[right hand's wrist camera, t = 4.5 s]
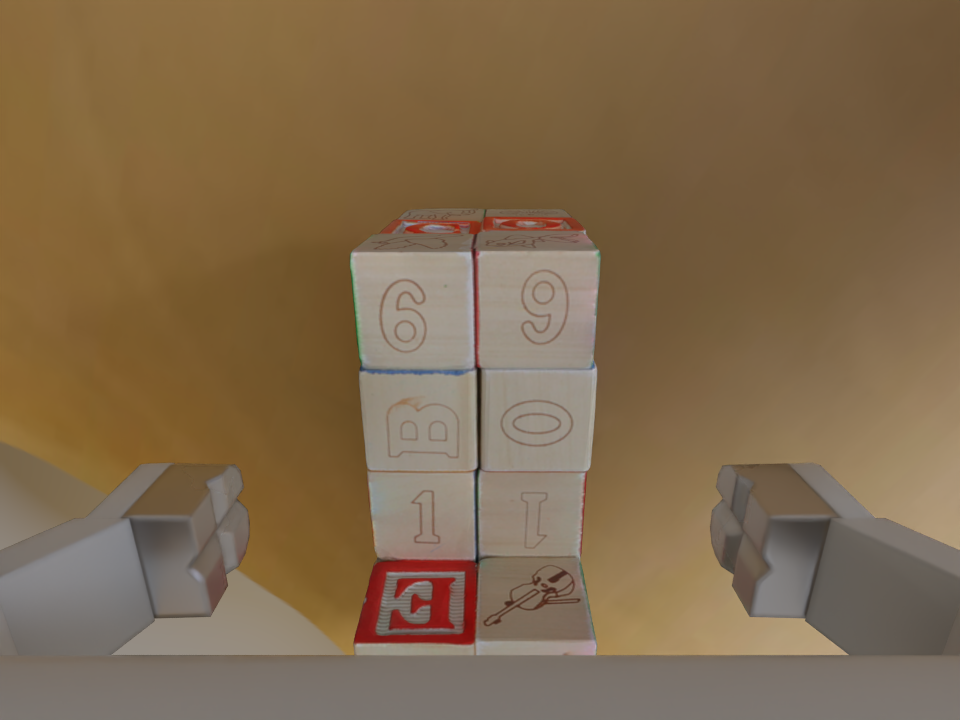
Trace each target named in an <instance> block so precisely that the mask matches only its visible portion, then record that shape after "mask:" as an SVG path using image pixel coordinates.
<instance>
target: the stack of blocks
mask: <svg viewBox="0 0 960 720" xmlns="http://www.w3.org/2000/svg"><path fill="white" fill-rule="evenodd" d="M600 260H601V255H600V251H599V250H598V248H597V247H596V245H595V244H594V243H593V242H592V241H591V240H590V239H589V238H588V236H587V235H586V230H585V229H584V228H583V226H582V225H581V224H580V223H578V222H577V221H576V220H575V219H574V218H572V217H571V216H570V215H569V214H568V213H567V212H565V211H564V210H562V209H461V208H449V209H416V210H408V211H406V212H404V213H403V214H402V215H401V216H400V217H399V218H398V219H396V220H394V221H392V222H391V223H390V224H389V225H388V226H387V227H386V228H384V229H383V230H382V231H381V232H380V234H375V235H371V236H370V237H369V238H368V239H367V240H365V241H364V242H363V243H361V244H360V245H359V246H358V247H356V248H355V249H354V250H353V251H352V252H351V254H350V270H351V279H352V291H353V301H354V311H355V323H356V336H357V345H358V352H359V359H360V362H361V367H360V370H359V388H360V398H361V410H362V421H363V431H364V441H365V451H366V464H367V468H368V474H367V485H368V495H369V506H370V514H371V523H372V532H373V542H374V548H375V552H376V555H377V556H378V558H377V560H376V562H375V563H374V566H373V570H372V573H371V576H370V580H369V586H368V589H367V593H366V596H365V600H364V602H363V607H362V611H361V614H360V619H359V623H358V626H357V630H356V634H355V638H354V653H355V655H596V651H597V642H596V637H595V632H594V627H593V622H592V617H591V611H590V606H589V601H588V596H587V591H586V585H585V580H584V574H583V570H582V565H581V561H580V557H581V549H582V534H583V520H584V505H585V492H586V476H587V470H588V469H589V468H590V466H591V455H592V443H593V432H594V419H595V403H596V386H597V367H596V364H595V362H594V360H593V357H594V348H595V333H596V318H597V304H598V288H599V275H600Z"/></svg>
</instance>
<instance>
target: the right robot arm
mask: <svg viewBox="0 0 960 720" xmlns="http://www.w3.org/2000/svg"><path fill="white" fill-rule="evenodd" d="M243 488H244V485H243V480H242V476H241V471H240V469H239V468H238V467H237V466H236V465H235V464H187V463H177V464H175V463H148V464H141V465H140V466H138V467H137V468H136V469H135V470H134V471H133V472H132V473H131V474H130V475H129V476H128V477H127V478H126V479H125V480H124V481H123V482H122V483H121V484H120V485H119V486H118V487H117V488H116V489H115V490H114V491H112V492H111V493H110V494H109V495H108V496H107V497H106V498H105V499H104V500H103V501H102V502H101V503H100V504H99V505H98V506H97V507H96V508H95V509H94V510H93V511H92V512H91V513H90V514H89V515H88V516H86V517H85V518H74V519H72V520H70V521H67V522H65V523H63V524H60V525H58V526H56V527H53V528H51V529H49V530H46V531H44V532H42V533H39V534H37V535H35V536H32V537H30V538H28V539H26V540H23V541H21V542H19V543H16V544H14V545H12V546H9V547H7V548H5V549H2V550H0V720H960V550H958V549H955V548H953V547H951V546H948V545H946V544H944V543H941V542H939V541H937V540H934V539H932V538H930V537H927V536H925V535H923V534H921V533H918V532H916V531H914V530H911V529H909V528H907V527H904V526H902V525H900V524H897V523H895V522H893V521H890V520H888V519H886V518H875V517H874V516H873V515H871V514H870V513H869V512H868V511H867V510H866V509H865V508H864V507H863V506H862V505H861V504H860V503H859V502H858V501H857V500H856V499H855V498H854V497H853V496H852V495H851V494H850V493H849V492H848V491H847V490H846V489H845V488H843V487H842V486H841V485H840V484H839V483H838V482H837V481H836V480H835V479H834V478H833V477H832V476H831V475H830V474H829V473H828V472H827V471H826V470H825V469H824V468H823V467H822V466H821V465H818V464H815V463H790V464H749V465H724V466H722V468H721V470H720V472H719V474H718V479H717V485H716V488H717V490H718V491H719V493H720V494H721V496H722V497H723V499H722V501H721V502H720V503H719V504H718V505H717V506H716V507H715V508H714V509H713V510H712V516H711V524H710V531H711V542H712V546H713V549H714V552H715V556H716V557H717V559H718V561H719V563H720V565H721V566H722V567H723V568H725V569H726V570H728V571H729V572H731V573H732V574H734V577H733V583H732V587H733V588H734V590H735V592H736V594H737V595H738V597H739V599H740V601H741V602H742V604H743V606H744V608H745V609H746V611H747V613H748V615H749V616H750V617H776V618H806V619H805V621H806V622H807V623H809V624H810V625H811V626H813V627H814V628H815V629H816V630H818V631H819V632H820V633H822V634H823V635H824V636H826V637H827V638H828V639H829V640H831V641H832V642H833V643H835V644H836V645H837V646H838V647H840V648H841V649H842V650H844V651H845V652H846V653H847V654H849V655H111V654H113V653H114V652H115V651H117V650H118V649H119V648H120V647H122V646H123V645H124V644H126V643H127V642H128V641H129V640H131V639H132V638H133V637H135V636H136V635H137V634H139V633H140V632H141V631H142V630H144V629H145V628H146V627H148V626H149V625H150V624H152V623H153V622H154V618H183V617H210V616H211V615H212V613H213V611H214V609H215V608H216V606H217V604H218V602H219V601H220V599H221V597H222V595H223V594H224V592H225V590H226V588H227V587H228V583H227V578H226V574H228V573H229V572H231V571H232V570H234V569H235V568H237V567H238V566H239V565H240V563H241V561H242V559H243V557H244V555H245V553H246V549H247V545H248V540H249V528H250V522H249V516H248V510H247V509H246V508H245V507H244V506H243V505H242V504H241V503H240V502H239V501H238V500H237V497H238V496H239V494H240V493H241V491H242V490H243Z"/></svg>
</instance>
